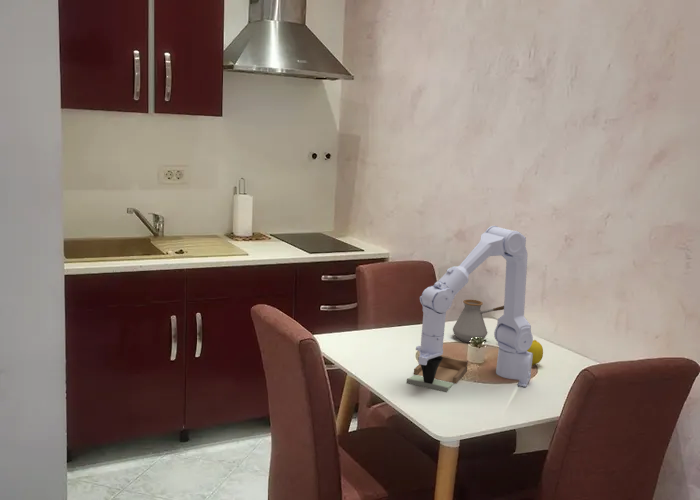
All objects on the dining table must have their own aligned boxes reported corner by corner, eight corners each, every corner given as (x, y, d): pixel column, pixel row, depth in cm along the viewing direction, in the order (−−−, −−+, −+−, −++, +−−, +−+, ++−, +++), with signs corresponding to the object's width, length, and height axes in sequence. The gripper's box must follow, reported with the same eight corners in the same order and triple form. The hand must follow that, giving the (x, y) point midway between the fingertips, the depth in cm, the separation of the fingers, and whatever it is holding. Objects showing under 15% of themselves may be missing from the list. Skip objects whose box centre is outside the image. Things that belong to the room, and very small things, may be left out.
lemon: (542, 369, 196) (545, 343, 194) (523, 367, 197) (526, 341, 196) (540, 363, 201) (543, 338, 200) (522, 361, 202) (525, 336, 201)
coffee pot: (447, 339, 219) (451, 295, 216) (458, 331, 229) (462, 289, 226) (511, 353, 209) (516, 307, 206) (519, 344, 219) (524, 300, 216)
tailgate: (454, 383, 176) (447, 387, 170) (453, 387, 176) (446, 392, 170) (415, 374, 180) (406, 378, 174) (414, 379, 180) (406, 383, 174)
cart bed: (466, 375, 187) (467, 360, 186) (455, 388, 176) (457, 372, 176) (425, 367, 191) (427, 352, 191) (413, 379, 181) (414, 363, 180)
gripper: (426, 323, 178) (422, 371, 181) (408, 337, 165) (404, 388, 168) (451, 328, 176) (447, 376, 178) (435, 342, 163) (431, 394, 165)
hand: (428, 383), depth 173 cm, fingers closed, pressing on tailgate
